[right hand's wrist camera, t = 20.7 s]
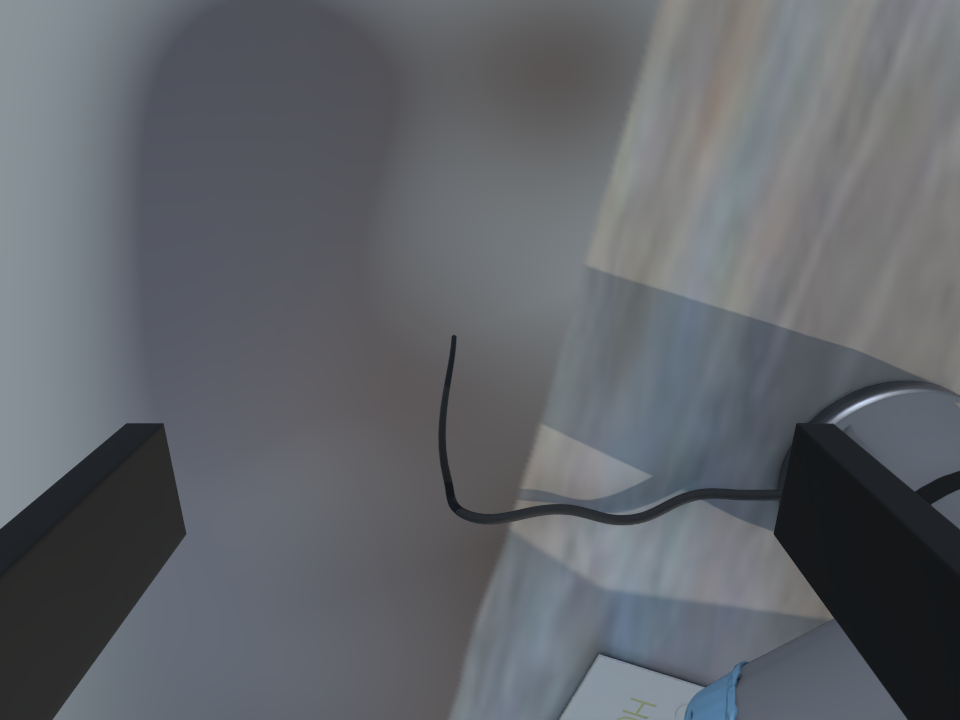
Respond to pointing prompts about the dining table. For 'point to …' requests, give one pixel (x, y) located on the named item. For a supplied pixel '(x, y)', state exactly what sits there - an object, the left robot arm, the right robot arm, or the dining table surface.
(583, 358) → the dining table surface
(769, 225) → the dining table surface
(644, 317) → the dining table surface
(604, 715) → the invitation card
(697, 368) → the dining table surface
